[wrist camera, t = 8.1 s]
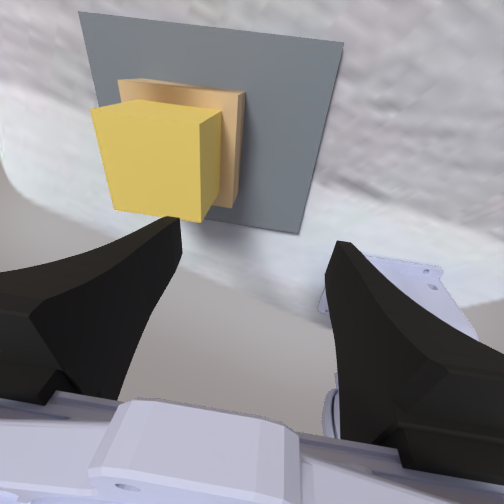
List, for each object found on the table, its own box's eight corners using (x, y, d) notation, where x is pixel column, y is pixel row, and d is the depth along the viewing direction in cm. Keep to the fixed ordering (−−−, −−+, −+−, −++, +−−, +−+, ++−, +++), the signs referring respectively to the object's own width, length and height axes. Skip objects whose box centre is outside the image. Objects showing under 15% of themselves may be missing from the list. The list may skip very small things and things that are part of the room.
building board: (342, 43, 15) (344, 42, 15) (297, 229, 23) (298, 233, 22) (84, 13, 16) (78, 11, 15) (124, 204, 24) (121, 206, 23)
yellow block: (221, 110, 15) (199, 124, 11) (219, 191, 18) (201, 222, 14) (138, 99, 15) (89, 109, 11) (149, 181, 18) (114, 209, 14)
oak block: (245, 91, 17) (238, 95, 14) (238, 192, 21) (231, 208, 18) (142, 78, 17) (117, 79, 15) (155, 180, 21) (137, 194, 19)
